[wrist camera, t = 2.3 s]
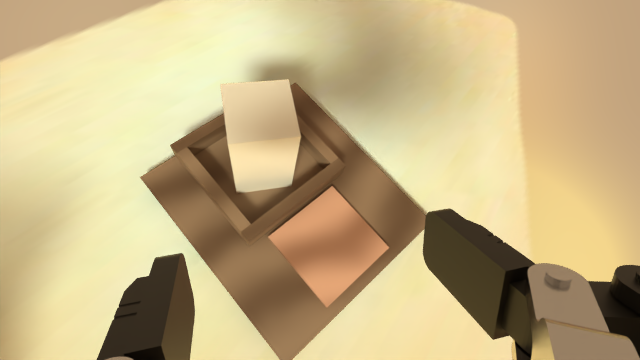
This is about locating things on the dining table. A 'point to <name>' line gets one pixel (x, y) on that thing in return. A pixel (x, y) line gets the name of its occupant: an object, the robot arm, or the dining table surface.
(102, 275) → the dining table surface
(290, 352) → the puzzle board
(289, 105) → the cream block
